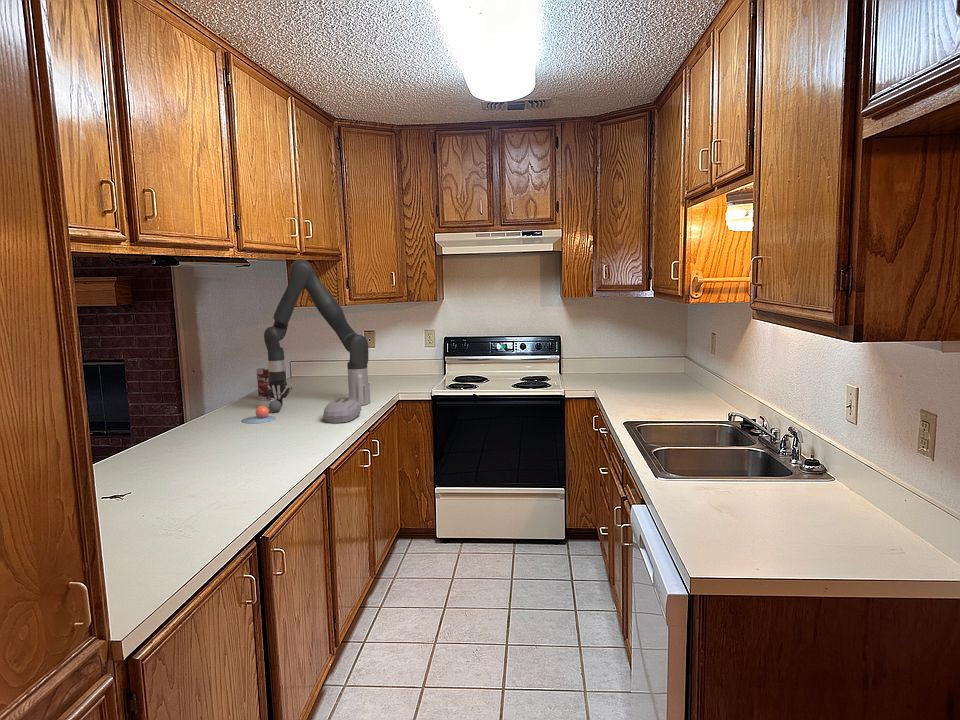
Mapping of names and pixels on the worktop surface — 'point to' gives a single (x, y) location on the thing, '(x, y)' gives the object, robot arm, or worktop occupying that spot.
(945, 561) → the worktop surface
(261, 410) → the red ball
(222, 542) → the worktop surface
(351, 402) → the soft grey pack
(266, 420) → the blue flat disc
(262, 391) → the supplement box
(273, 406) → the grey smooth round ball
